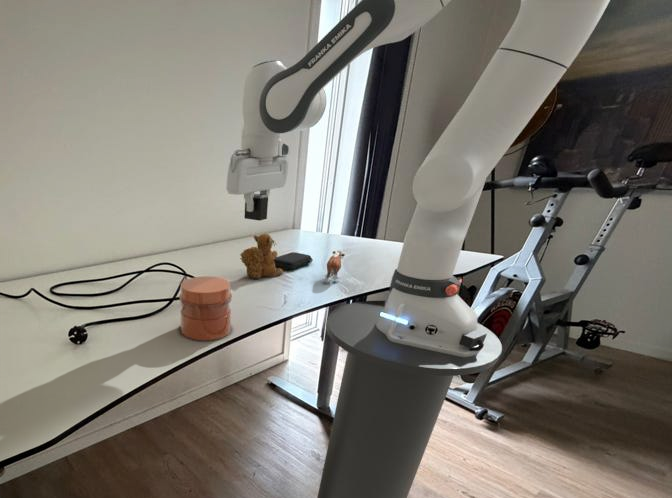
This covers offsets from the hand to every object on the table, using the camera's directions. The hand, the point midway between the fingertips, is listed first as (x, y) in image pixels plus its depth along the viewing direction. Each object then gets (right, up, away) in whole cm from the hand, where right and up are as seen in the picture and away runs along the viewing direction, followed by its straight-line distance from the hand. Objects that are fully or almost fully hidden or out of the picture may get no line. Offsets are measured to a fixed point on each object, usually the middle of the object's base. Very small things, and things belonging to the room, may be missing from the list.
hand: (256, 210), depth 97 cm
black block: (0, -2, +1) cm, 2 cm away
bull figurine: (+29, -12, +26) cm, 41 cm away
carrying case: (+20, -4, +40) cm, 45 cm away
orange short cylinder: (-13, -31, -5) cm, 34 cm away
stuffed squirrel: (+6, -10, +31) cm, 33 cm away
